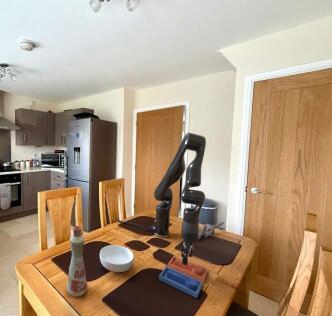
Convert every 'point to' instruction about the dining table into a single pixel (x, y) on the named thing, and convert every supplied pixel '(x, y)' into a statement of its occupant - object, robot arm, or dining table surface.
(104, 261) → the cereal bowl
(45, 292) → the dining table surface
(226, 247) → the dining table surface
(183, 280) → the blue spoon
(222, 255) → the dining table surface
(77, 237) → the bottle
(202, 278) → the terracotta tray
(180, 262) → the terracotta spoon
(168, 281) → the blue tray
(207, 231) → the spaceship
